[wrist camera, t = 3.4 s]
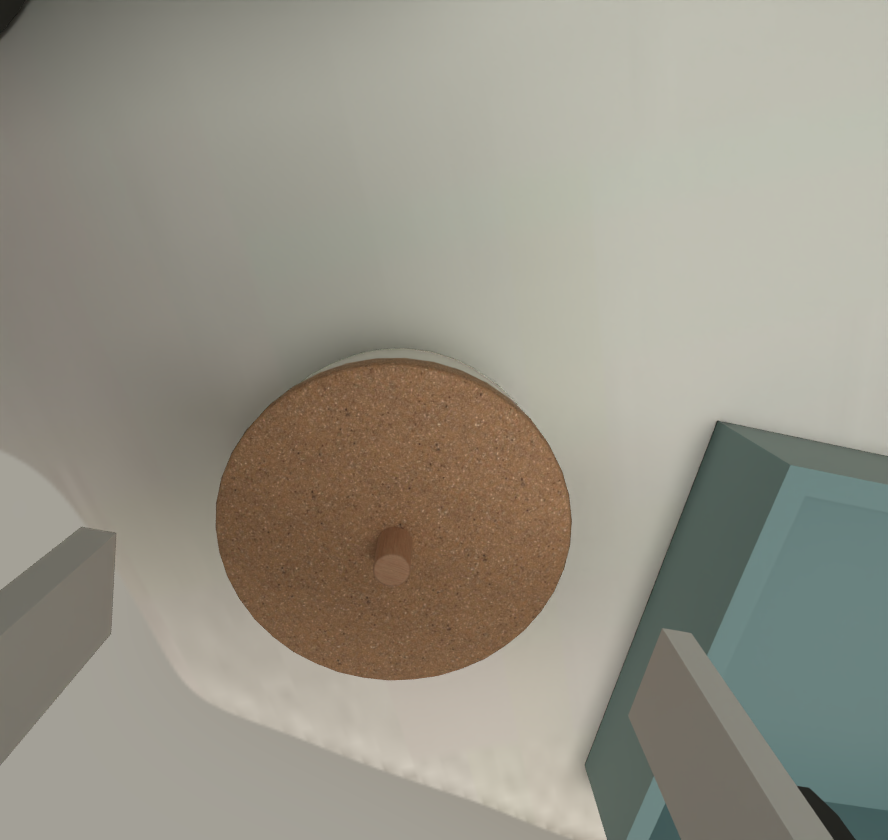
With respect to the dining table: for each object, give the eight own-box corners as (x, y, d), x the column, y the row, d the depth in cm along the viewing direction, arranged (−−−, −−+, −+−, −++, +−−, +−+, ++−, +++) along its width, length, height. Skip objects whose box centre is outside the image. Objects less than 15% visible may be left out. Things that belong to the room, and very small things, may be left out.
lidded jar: (471, 585, 26) (493, 763, 17) (251, 511, 24) (148, 664, 16) (570, 380, 23) (659, 466, 14) (326, 282, 22) (254, 310, 13)
